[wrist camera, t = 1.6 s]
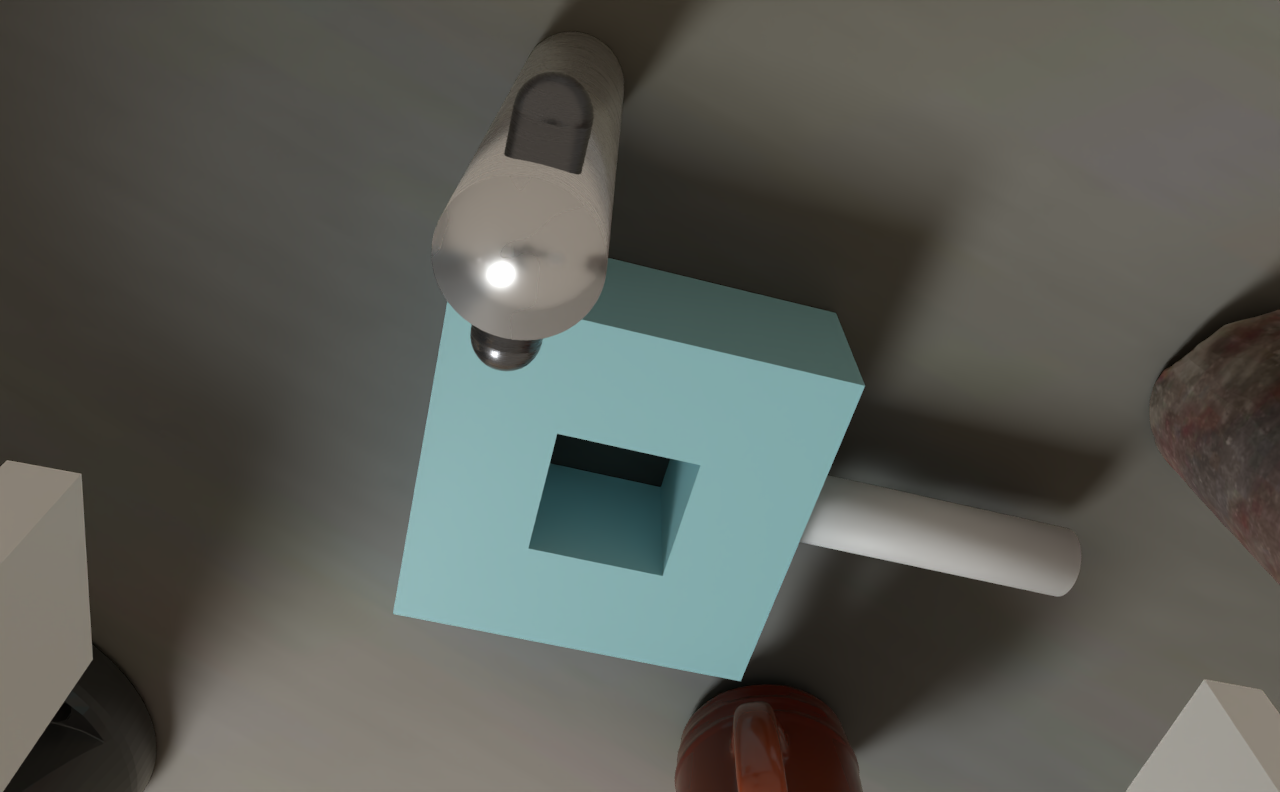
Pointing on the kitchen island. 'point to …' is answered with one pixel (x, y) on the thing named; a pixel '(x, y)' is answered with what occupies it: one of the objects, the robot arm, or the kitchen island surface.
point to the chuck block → (669, 481)
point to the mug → (765, 744)
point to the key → (536, 204)
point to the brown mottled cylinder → (1228, 429)
